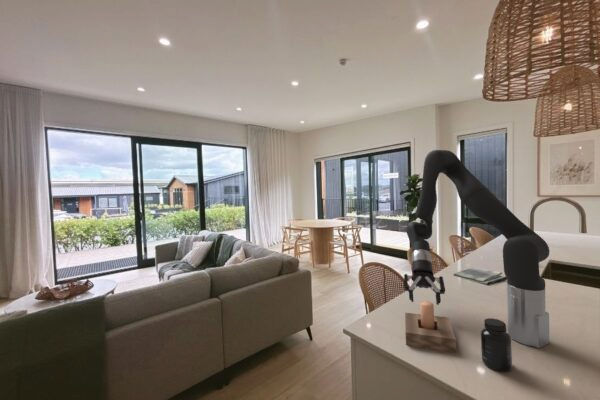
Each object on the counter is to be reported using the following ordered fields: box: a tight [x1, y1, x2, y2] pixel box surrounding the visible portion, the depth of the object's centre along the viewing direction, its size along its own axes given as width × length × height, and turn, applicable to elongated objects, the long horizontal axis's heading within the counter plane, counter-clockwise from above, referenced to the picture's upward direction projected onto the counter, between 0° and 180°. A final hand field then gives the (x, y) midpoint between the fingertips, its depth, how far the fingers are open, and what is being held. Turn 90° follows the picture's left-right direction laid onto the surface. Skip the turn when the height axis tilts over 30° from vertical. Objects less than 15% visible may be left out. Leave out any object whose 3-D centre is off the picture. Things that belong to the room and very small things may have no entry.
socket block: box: [404, 312, 457, 353], centre depth 88 cm, size 14×14×4 cm
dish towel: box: [453, 267, 507, 286], centre depth 141 cm, size 19×18×3 cm
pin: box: [419, 300, 435, 330], centre depth 88 cm, size 4×4×10 cm
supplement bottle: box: [480, 317, 513, 373], centre depth 73 cm, size 7×7×12 cm
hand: (424, 302), depth 98 cm, fingers open, 8 cm apart
